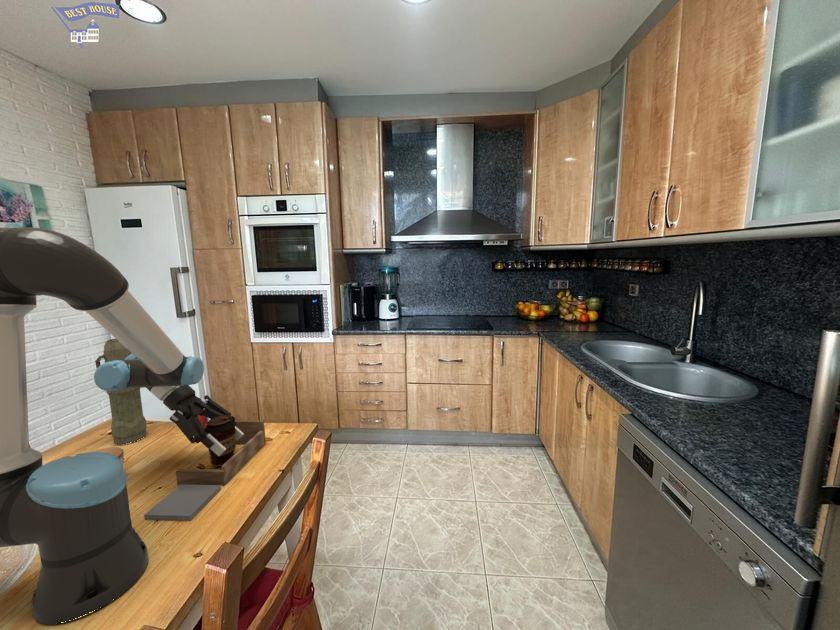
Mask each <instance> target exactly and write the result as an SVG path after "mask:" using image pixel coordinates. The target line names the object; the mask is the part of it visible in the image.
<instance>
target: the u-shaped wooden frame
mask: <svg viewBox="0 0 840 630" xmlns="http://www.w3.org/2000/svg"><path fill="white" fill-rule="evenodd" d="M235 422H236V427H237V428H238V429H239V430H240V431H241V432H243V433H244V434H243V436H242V437H241V438H240V439H239V440H238V441H237V440H235V445H236V446H240V445H241V446H242V447H240V448H239V449H238V450H237V452H236V453H235V452H234V455H233V456H232V457H231V458H230V459H229V460H228V461H227V462H226V463H224V464H223V465H222V466H221V469H215V468H213V469H212V468H207V469H205V468H204V469H203V468H201V469H198V468H177V469H176V470H175V475H176V484H177V486H179V485H221V487H223V486H224V487H225V486H226V485H227V484H228V483H229V482H230V481H231V480H232V479H233V478H234V477H235V476H236V474H237V473H239V472H240V471H241V469H243V468H244V466H246V464H247V463H248V462H249V461H250V460H251V459H252V458H253V457H254V456H255V455H256V454H257V453H258V452H259V451H260V450H261V449H262V448H263V447H264V446H265V444H266V431H265V421H264V420H243V419H242V420H237V419H235Z"/></svg>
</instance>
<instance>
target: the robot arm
mask: <svg viewBox="0 0 840 630" xmlns="http://www.w3.org/2000/svg"><path fill="white" fill-rule="evenodd" d="M129 288H130V284H129V281H128V280H127V278H126V277H125V275H123V274H122V272H121V271H120V270H119V269H118V268H117V267H116V266H115V265H114V264H113V263H111V261H109V260H108V259H106V257H104V256H102V255H101V253H99V252H97V251H96V250H95V249H93V248H91V247H90V246H88V245H86V244H85V243H83V242H81V241H79V240H77V239H75V238H74V237H71V236H69V235H66V234H64V233H61V232H57V231H55V230H51V229H46V228H41V227H31V226H29V227H0V548H8V547H15V546H26V545H37V546H38V552H39V558H40V565H41V567H40V572H39V575H38V579H37V584H36V588H35V590H34V592H33V596H32V598H31V611H32V615H33V618H34V620H35V621H36V622H37V623H38V624H42V625H45V624H55V625H57V624H56V623H61V622H65V621H69V620H73V619H75V618H78V617H80V616H83V615H85V614H88V613H89V612H92V611H94V610H97V609H99V608H100V607H102V606H104V605H106V604H107V603H109V602H111V601H112V600H113V599H115V598H117V597H118V596H119V597H120V595H121V594H122V595H123V594H124V593H126V592H127V591H128V590H129V589H130V588H132V587H133V586H134V585H135V583H137V581H138V580H139V579H140V578H141V577H142V575H143V573H144V572H145V571H146V568H147V566H148V564H149V553H148V547H147V545H146V543H145V542H144V540H143V539H142V537H141V536H140V535H139V533H138V532H137V531H136V530H135V528H134V527H133V525H132V519H131V509H130V501H129V500H130V499H129V495H128V486H127V483H128V476H127V474H126V472H125V469H124V465H123V464H122V462H121V460H120V459H119V458H118V457H117V456H115V455H113V454H109V453H103V452H92V451H89V452H82V453H77V454H75V455H72V456H69V455H66V456H64V457H63V456H62V457H60V458H57V459H55V460H51V461H50V462H47V463H45V464H44V463H43V453H42V452H41V451H39V450H37V449H34V448H32V447H30V439H29V438H30V437H29V413H28V411H29V410H28V386H27V385H28V384H27V359H26V357H27V356H26V355H27V354H26V336H25V335H26V333H25V332H26V331H25V329H26V328H25V316H27V315H28V314H29V313H30V312H31V311H34V309H36V308H37V307H38V306H37V296H46V297H52V298H56V299H59V300H62V301H63V302H65V303H67V305H68V306H70V307H71V308H72V309H74V310H75V311H76V310H77V311H79V312H86V313H87V314H88V315H90V317H91V318H93V319H94V320H95V321H96V322H97V323H98V324H99V325H100V326H102V328H103V329H104V330H106V331H107V332H108V333H109V334H110V335H111V336H112V337H113V338H114V339H117V340H118V341H119V342H120V343H121V344H122V345H123V346H125V347H126V348H127V349H128V350H129V351H130V352H131V353H132V354H130V355H129V356H128V357H127V358H125V360H113V361H110V362H106V363H105V362H103V363H102V364H100V366H99V367H98V368H96V370H95V372H94V373H93V380H94V383H95V386H97V387H98V388H99V389H100V390H102V391H105V392H106V391H116V390H117V391H119V390H122V389H127V388H140V389H143V388H145V389H146V390H148V391H149V392H150V393H151V394H152V395H154V397H156V398H157V399H158V400H159V401H161V402H162V403H163V405H164V406H166V408H168V410H170V411H172V412H174V413H173V414H171V416H170V417H169V420H170V421H171V422H173V423H174V424H175V425H176V426H177V427H178V429H179V430H180V431H181V432H182V433H183V435H184V436H185V437H186V438H187V440H188V441H189V443H190V444H199V443H202V444H203V445H204V447H206V448H207V449H208V448H210V449H211V450H212V451H213V452H214V453H215V454H217V455H218V456H220V455H221V454H222V453H223V452H224V451H225V450H226V448H225V447H224V446H223V445H222V444H220V443H219V442H218V441H217V440H216V439H215V438H214V437H213V436H212V435H211V434H208V435H207V436H206V433H205V431H204V428H203V427H202V425H201V423H200V421H199V419H198V415H200V416H205V417H207V419H209V420H211V419H213V418H215V417H218V416H222V415H230V416H232V413H231V412H229V410H227V409H226V408H224V407H223V406H221V405H219V404H218V403H217V402H215V400H213V399H212V398H210V396H209V395H206V394H205V396H204V397H198V396H196V389H193V388H192V386H193V385H197V384H198V383H200V381H201V380H202V379H203V376H204V372H205V371H204V370H205V366H204V362H203V360H202V359H201V358H200V357H198V356H191V355H189V356H185V355H184V353H183V352H182V351H181V350H180V349H179V348H178V346H177V345H176V344H175V343H174V342H173V341H172V340H171V338H170V337H169V336H168V335H167V334H166V332H164V330H163V329H162V328H161V327H160V326H159V324H158V323H157V322H156V320H154V318H152V316H151V315H150V314H149V313H148V312H147V310H145V308H144V307H143V306H142V305H141V303H140V302H139V301H138V300H137V299H136V298H135V296H133V294H132V293H131V292H130V291H129ZM191 385H192V386H191ZM235 432H236V440H237V441H238V440H239V439H240V438H241V437H242V436H243V434H244V433H243V432H241V431H240V430H239V429H238V428H237V427H236V426H235ZM127 589H128V590H127ZM126 590H127V591H126ZM125 591H126V592H125ZM122 595H121V596H122ZM119 597H118V598H119ZM118 598H117V599H118ZM115 600H116V599H115ZM112 602H113V601H112ZM112 602H111V603H112ZM109 604H110V603H109ZM107 605H108V604H107ZM107 605H106V606H107ZM104 607H105V606H104ZM102 608H103V607H102ZM99 610H100V609H99ZM97 611H98V610H97ZM73 621H74V620H73Z"/></svg>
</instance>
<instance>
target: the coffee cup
mask: <svg viewBox="0 0 840 630" xmlns="http://www.w3.org/2000/svg"><path fill="white" fill-rule="evenodd" d="M235 420H236V416H235V417H234V415H231V416H230V415H222V416H218V417H215V418H213V419H208V422H207V425H206V426H205V427H204V428H203V429H204V431H205V433H206V436H207V435H208V434H211V435H212V436H213V437H214V438H215V439H216V440H217V441H218V442H219V443H220V444H222V445H223V446H224V447H225V448H226V450H225V451H224V452H223V453H222V454H221V455H220V456H218V455H217V454H215V453H214V452H213V451H212V450H211V449H210V448H207V449H208V453H209V458H210V459H209V460H210V462H211V465H212V466H214V467H222V465H223V464H224V463H226V462H227V461H228V460H229V459H230V458H231V457H232V456H233V455H234V454H235V449H236V446H237V445H235V440H236V432H235V426H236V422H235Z"/></svg>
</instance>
